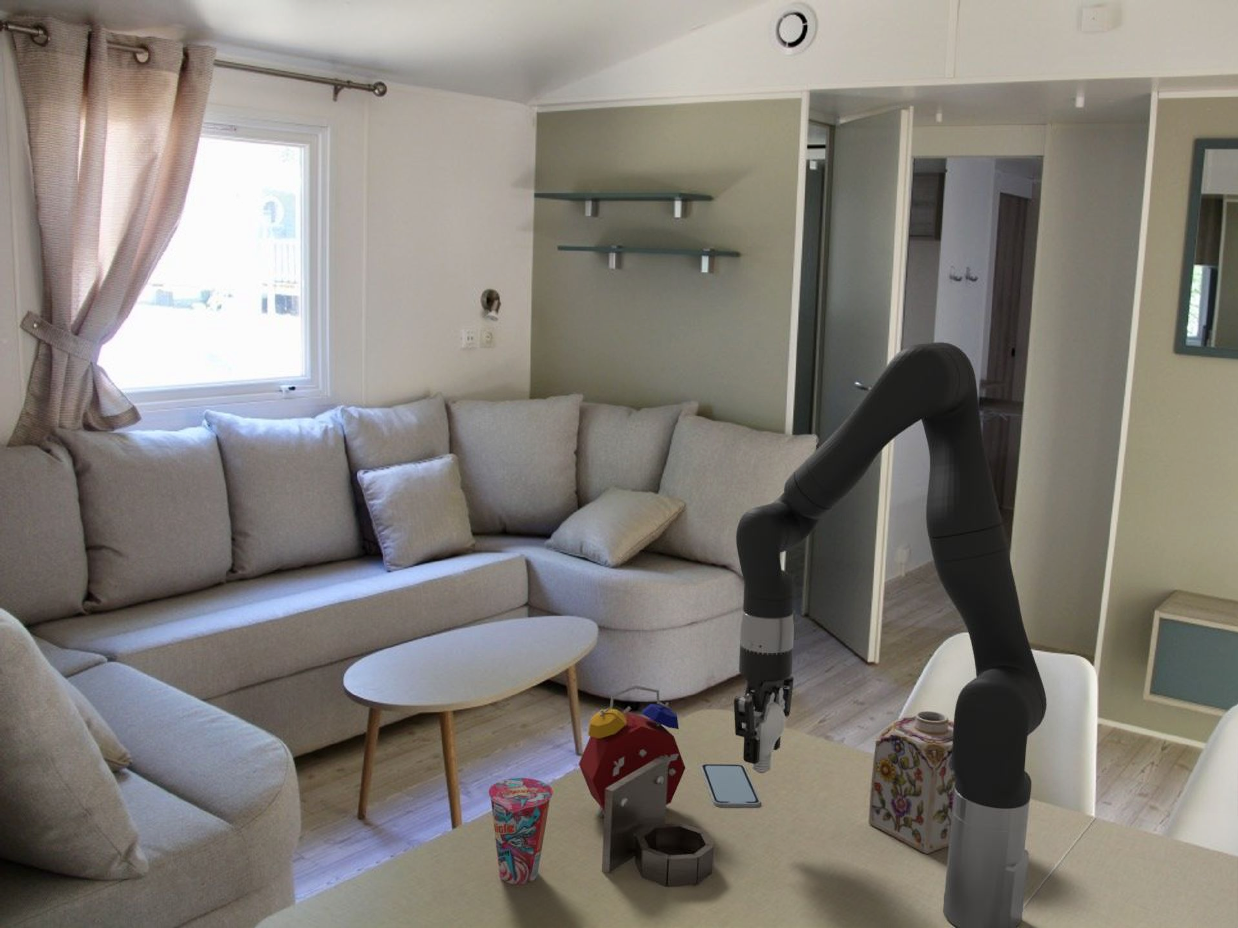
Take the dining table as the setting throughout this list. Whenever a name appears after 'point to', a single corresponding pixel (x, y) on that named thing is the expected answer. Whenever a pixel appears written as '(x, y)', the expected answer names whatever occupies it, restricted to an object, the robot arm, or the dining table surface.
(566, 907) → the dining table surface
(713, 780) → the smartphone
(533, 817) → the cup
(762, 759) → the lightbulb
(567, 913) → the dining table surface
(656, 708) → the alarm clock
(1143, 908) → the dining table surface
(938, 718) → the decorative jar
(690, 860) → the bracket
